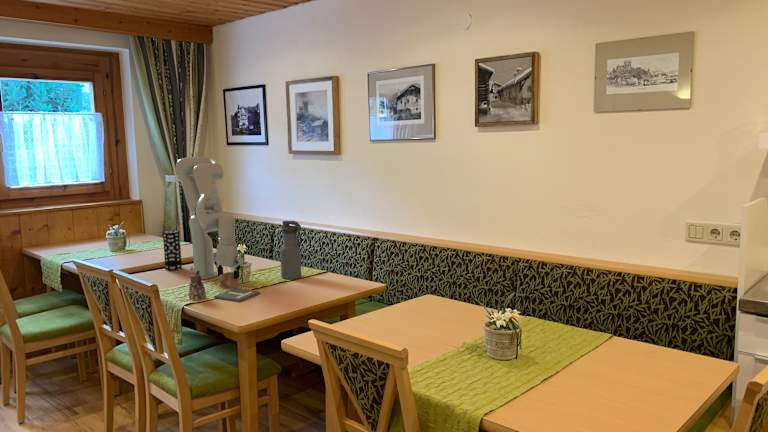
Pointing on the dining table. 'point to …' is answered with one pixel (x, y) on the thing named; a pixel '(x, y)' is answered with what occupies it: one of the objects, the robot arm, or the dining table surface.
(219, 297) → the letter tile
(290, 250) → the water bottle
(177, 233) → the white-spotted black cylinder
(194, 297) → the figurine
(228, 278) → the block
